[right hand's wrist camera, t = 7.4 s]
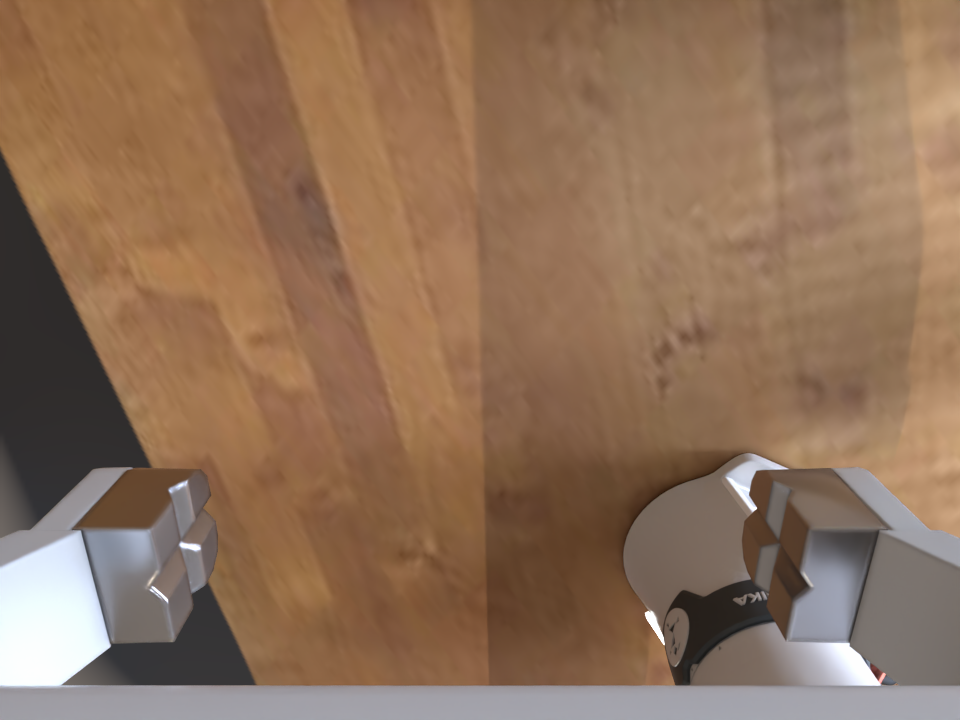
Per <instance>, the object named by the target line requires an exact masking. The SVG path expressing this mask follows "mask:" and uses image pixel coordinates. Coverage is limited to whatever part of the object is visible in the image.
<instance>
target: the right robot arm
mask: <svg viewBox="0 0 960 720" xmlns="http://www.w3.org/2000/svg"><path fill="white" fill-rule="evenodd" d="M210 496H211V492H210V487H209V482H208V478H207V475H206V474H205V473H204V472H203V471H202V470H201V469H164V468H134V469H133V468H131V467H124V468H99V469H93V470H92V471H91V472H90V473H89V474H88V475H87V476H86V477H85V478H84V479H83V480H82V481H81V482H80V483H79V484H78V485H76V486H75V487H74V488H73V489H72V490H71V491H70V492H69V493H68V494H67V495H66V496H65V497H64V498H63V499H62V500H61V501H60V502H59V503H58V504H57V505H56V506H55V507H54V508H53V509H52V510H51V511H50V512H49V513H47V514H46V515H45V516H44V517H43V518H42V519H41V520H40V521H39V522H38V523H37V524H36V525H35V526H34V527H33V528H32V529H31V530H18V531H16V532H14V533H11V534H9V535H7V536H4V537H2V538H0V720H960V538H958V537H956V536H953V535H951V534H949V533H946V532H944V531H942V530H929V529H928V528H927V527H926V526H925V525H924V524H923V523H922V522H921V521H920V520H919V519H918V518H917V517H916V516H915V515H914V514H913V513H912V512H911V511H910V510H908V509H907V508H906V507H905V506H904V505H903V504H902V503H901V502H900V501H899V500H898V499H897V498H896V497H895V496H894V495H893V494H892V493H891V492H890V491H889V490H888V489H887V488H886V487H885V486H884V485H883V484H882V483H881V482H880V481H879V480H877V479H876V478H875V477H874V476H873V475H872V474H871V473H870V472H869V471H868V470H866V469H863V468H860V467H850V468H818V469H788V468H785V467H783V466H781V465H779V464H776V463H774V462H772V461H769V460H767V459H765V458H762V457H760V456H758V455H755V454H751V453H745V454H741V455H739V456H737V457H735V458H733V459H732V460H730V461H728V462H727V463H726V464H724V465H723V466H722V467H720V468H719V469H718V470H716V471H715V472H714V473H712V474H709V475H707V476H704V477H701V478H698V479H695V480H692V481H688V482H685V483H683V484H680V485H678V486H676V487H674V488H672V489H670V490H668V491H666V492H664V493H663V494H661V495H660V496H658V497H657V498H656V499H654V500H653V501H652V502H651V503H650V504H649V505H648V506H647V507H646V508H645V509H644V510H643V511H642V512H641V513H640V514H639V516H638V517H637V518H636V520H635V521H634V523H633V525H632V526H631V528H630V530H629V533H628V535H627V538H626V541H625V546H624V552H623V563H624V569H625V573H626V577H627V579H628V582H629V584H630V585H631V587H632V589H633V590H634V592H635V593H636V594H637V596H638V597H639V598H640V600H641V601H642V602H643V604H644V605H645V606H646V608H647V610H648V611H649V612H647V613H645V614H646V618H647V620H648V621H649V623H650V624H651V626H652V627H653V629H654V630H655V632H656V633H657V635H658V636H659V638H660V639H661V641H662V642H663V644H664V645H665V650H666V654H667V658H668V662H669V666H670V670H671V673H672V676H673V679H674V682H675V685H676V686H60V685H62V684H63V683H64V682H65V681H67V680H68V679H69V678H71V677H72V676H73V675H74V674H76V673H77V672H78V671H80V670H81V669H82V668H83V667H85V666H86V665H87V664H89V663H90V662H91V661H93V660H94V659H95V658H97V657H98V656H99V655H100V654H102V653H103V652H104V651H106V650H107V649H108V648H109V647H110V646H111V645H110V643H144V642H174V641H175V639H176V637H177V635H178V634H179V632H180V630H181V628H182V626H183V625H184V623H185V621H186V619H187V618H188V616H189V614H190V612H191V610H192V609H193V607H194V606H193V600H192V595H191V594H192V593H193V592H195V591H197V590H198V589H200V588H201V587H203V586H204V585H206V583H207V581H208V580H209V578H210V576H211V574H212V572H213V570H214V565H215V561H216V557H217V552H218V533H217V526H216V521H215V520H214V519H213V518H212V517H211V516H210V515H209V514H208V513H207V512H206V511H205V510H204V509H203V507H204V506H205V504H206V503H207V501H208V499H209V498H210ZM895 683H897V684H899V685H900V686H882V685H881V684H883V685H894V684H895Z"/></svg>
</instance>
